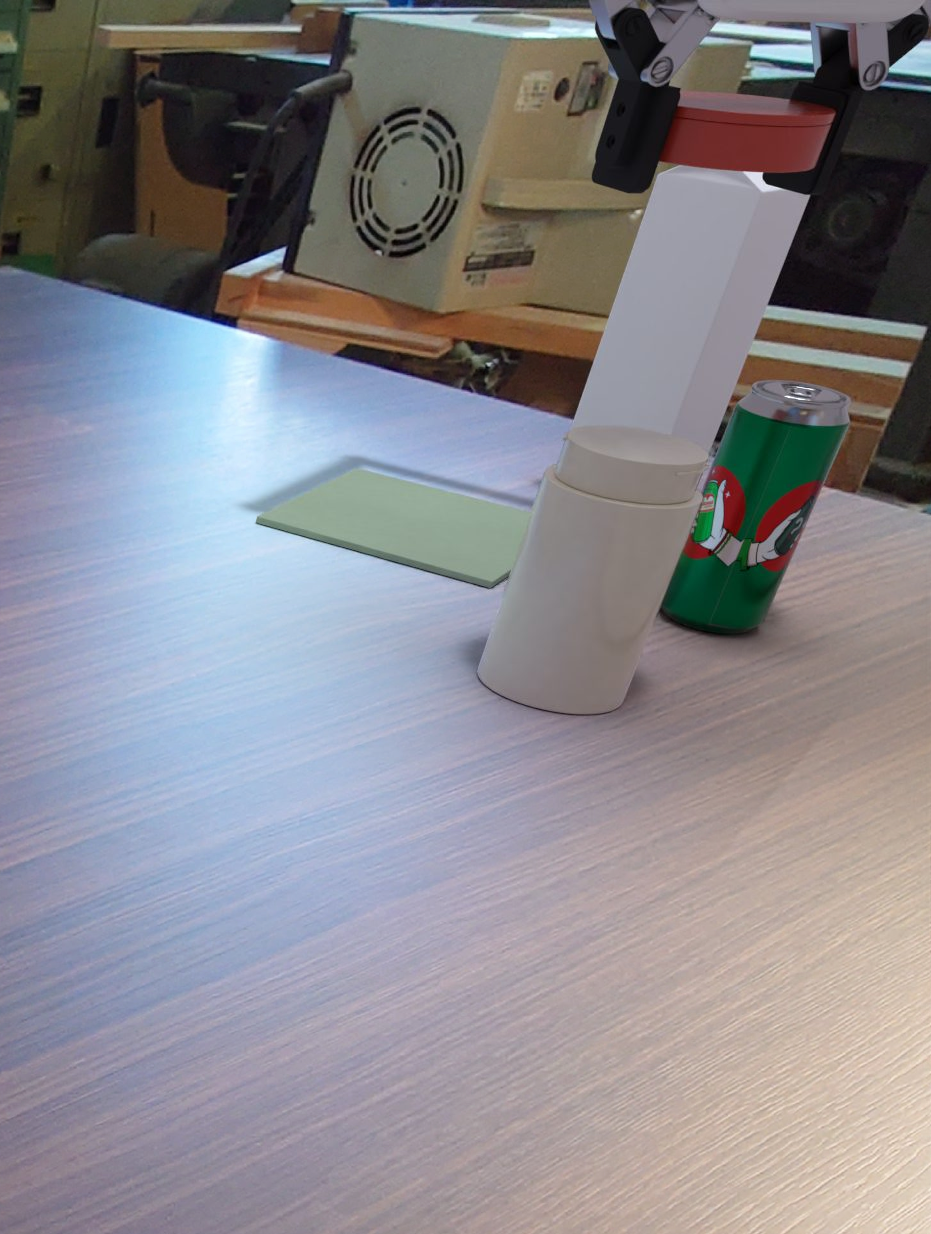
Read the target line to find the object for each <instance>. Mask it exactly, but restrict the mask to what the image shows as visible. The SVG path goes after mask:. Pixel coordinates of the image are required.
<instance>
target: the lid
mask: <svg viewBox="0 0 931 1234" xmlns="http://www.w3.org/2000/svg"><path fill="white" fill-rule="evenodd" d="M835 114H836V111H835V110H834V109H832V108H829V107H826V106H822V105H818V104H813V103H807V102H802V101H795V100H790V98H789V99H787V98H781V97H773V96H763V95H756V94H755V95H753V94H745V93H744V94H743V93H730V92H717V91H716V92H715V91H699V90H680V100H679V103H678V106H677V109H676V112H675V115H674V118H673V121H672V124H671V127H670V130H669V133H668V136H667V139H666V142H665V145H664V148H663V151H662V154H661V157H660V159H659V162H658V163H664V164H669V165H670V164H671V165H676V166H679V165H683V166H690V167H698V168H707V169H717V170H729V171H743V172H767V173H786V172H801V171H807V170H811V169H813V168H815V166H816V164H817V161H818V159H819V156H820V153H821V151H822V148H823V146H824V143H825V140H826V138H827V135H828V133H829V130H830V127H831V124H832V122H833V120H834V117H835Z"/></svg>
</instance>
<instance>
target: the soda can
mask: <svg viewBox="0 0 931 1234" xmlns="http://www.w3.org/2000/svg"><path fill="white" fill-rule="evenodd" d="M851 401H852V399H851V397H850V396H849V395H847V394H845V393H843V392H842V391H839V390H836V389H833V388H830V387H826V386H822V385H818V384H814V383H809V382H802V381H794V380H783V379H766V380H757V381H755V382H753V384H752V385H751V387H750V391H749V392H748V393H747V394H746V395H744V396H743V397H742V398H741V399H740V400H739V401H737V402H736V403H735V405H734V408H733V410H732V412H731V415H730V418H729V420H728V423H727V425H726V428H725V430H724V433H723V435H722V438H721V440H720V442H719V445H718V448H717V450H716V453H715V456H714V458H713V461H712V463H711V466H710V468H709V471H708V473H707V476H706V477H705V478H706V479H705V481H704V484H703V485H702V488H701V491H700V492H701V493H702V495H703V501H702V504H701V506H700V509H699V511H698V514H697V516H696V519H695V521H694V524H693V526H692V529H691V531H690V534H689V536H688V539H687V541H686V544H685V547H684V549H683V552H682V554H681V557H680V559H679V562H678V564H677V567H676V569H675V572H674V574H673V577H672V579H671V582H670V584H669V587H668V589H667V592H666V595H665V597H664V600H663V602H662V605H661V608H662V610H663V612H664V614H665V615H666V617H668V618H670V619H671V620H673V621H675V622H676V623H678V624H680V625H683V626H685V627H689V628H692V629H695V630H699V631H702V632H707V633H714V634H722V635H736V634H744V633H746V632H747V633H748V632H749V631H751V630H753V629H755V628H757V627H758V626H760V625H762V624H763V623H764V622H765V620H766V618H767V615H768V614H769V611H770V608H771V606H772V604H773V602H774V600H775V597H776V595H777V592H778V590H779V588H780V586H781V584H782V582H783V579H784V577H785V574H786V572H787V570H788V567H789V566H790V563H791V560H792V558H793V556H794V554H795V551H796V549H797V547H798V545H799V542H800V540H801V538H802V536H803V533H804V531H805V528H806V526H807V524H808V522H809V519H810V517H811V515H812V513H813V510H814V508H815V505H816V503H817V501H818V499H819V496H820V495H821V492H822V489H823V487H824V486H825V483H826V480H827V478H828V476H829V474H830V471H831V469H832V467H833V464H834V462H835V460H836V458H837V455H838V453H839V451H840V448H841V446H842V444H843V441H844V439H845V437H846V435H847V432H848V430H849V428H850V426H851V420H850V415H849V411H848V407H849V406H850V404H851Z"/></svg>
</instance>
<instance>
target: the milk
mask: <svg viewBox="0 0 931 1234" xmlns="http://www.w3.org/2000/svg"><path fill="white" fill-rule="evenodd" d="M762 175H763V172H743V171H729V170H717V169H707V168H698V167H690V166H683V165H676V166H675V167H671V168H670V169H667V170H665V171H662V172H660V173H658V174H657V176H656V179H655V182H654V183H653V184H654V185H653V188H652V190H651V193H650V196H649V198H648V202H647V204H646V208H645V211H644V213H643V217H642V220H641V223H640V225H639V228H638V231H637V233H636V237H635V240H634V243H633V246H632V247H631V248H632V249H631V251H630V254H629V258H628V259H627V264H626V266H625V269H624V272H623V275H622V278H621V279H620V280H621V281H620V283H619V286H618V290H617V292H616V296H615V297H614V301H613V304H612V307H611V310H610V312H609V315H608V318H607V322H606V324H605V327H604V330H603V333H602V335H601V339H600V342H599V345H598V348H597V351H596V354H595V357H594V358H593V361H592V365H591V368H590V371H589V374H588V376H587V379H586V383H585V385H584V388H583V391H582V395H581V397H580V400H579V402H578V407H577V409H576V412H575V415H574V418H573V421H572V423H571V426H570V429H569V431H570V430H572V429H574V428H577V427H582V426H591V425H611V426H624V427H633V428H640V429H646V430H651V431H656V432H661V433H665V434H669V435H673V436H676V437H679V438H682V439H685V440H688V441H690V442H693V443H695V444H697V445H699V446H700V447H702V448H704V449H705V450H706V451H707V452H708V454H709V455H710V452H711V449H712V447H713V444H714V442H715V439H716V437H717V434H718V431H719V430H720V426H721V424H722V421H723V419H724V416H725V414H726V412H727V409H728V406H729V404H730V401H731V399H732V396H733V394H734V392H735V388H736V385H737V383H738V382H739V381H738V380H739V378H740V376H741V373H742V371H743V368H744V366H745V363H746V360H747V357H748V355H749V353H750V350H751V348H752V345H753V343H754V340H755V338H756V335H757V332H758V330H759V327H760V325H761V322H762V319H763V317H764V314H765V312H766V310H767V307H768V304H769V302H770V299H771V297H772V294H773V292H774V289H775V286H776V283H777V281H778V279H779V276H780V274H781V271H782V268H783V266H784V263H785V262H786V258H787V256H788V253H789V252H790V251H789V250H790V248H791V246H792V244H793V240H794V238H795V235H796V233H797V231H798V228H799V225H800V222H801V220H802V218H803V215H804V212H805V209H806V207H807V205H808V203H809V200H810V197H811V195H804V194H800V193H797V192H793V191H789V190H785V189H782V188H778V187H774V186H771V185H767V184H766V183H765V181H763V179H762Z"/></svg>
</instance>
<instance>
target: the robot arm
mask: <svg viewBox="0 0 931 1234" xmlns="http://www.w3.org/2000/svg"><path fill="white" fill-rule="evenodd" d="M645 1H646V2H647V3H648V4H650V6H649V7H648V9H647V10H646V11H645V10H644V9H642V8H641V6H640V3H639V0H587V2H588V4H589V7H590V10H591V14H592V16H594V17H595V23H594V31H595V34H596V36H597V38H598V40H599V42H600V45H601V46H602V48H603V50H604V52H605V55H606V56H607V58H608V64H607V71H608V74H609V76H610V77H612V78H614V79H617V83H616V85H615V88H614V92H613V94H612V99H611V101H610V104H609V107H608V111H607V114H606V117H605V119H604V123H603V126H602V129H601V133H600V136H599V139H598V142H597V145H596V148H595V149H596V150H595V153H594V160H595V162H594V165H593V168H592V172H591V181H592V183H594V184H596V185H599V186H603V187H605V188H609V189H613V190H616V191H618V192H623V193H625V194H637V195H638V194H639V195H640V194H644V193H645V192H646V191H647V190H649V189H650V188H651V186H652V183H653V181H654V177H655V174H656V171H657V168H658V166H659V163H660V162H659V159H660V157H661V154H662V151H663V148H664V145H665V142H666V139H667V136H668V133H669V130H670V127H671V124H672V121H673V118H674V115H675V112H676V109H677V106H678V103H679V100H680V91H682V89H681V88H682V87H678V86H672V85H670V84H671V80H672V79H673V78H674V76H676V74H677V73H678V72H679V70H681V67H682V66H683V65H684V64H685V63H686V61H687V60H688V59H689V58H690V56H692V54H693V53H694V51H696V49H697V48H698V46H699V45H700V44H701V43H702V41H704V39H705V38H706V37H707V35H708V34H709V33H710V32H711V31H712V29H713V28H714V27H715V25H716V24H717V23H718V22H719V21H720V19H725V20H731V21H732V20H733V21H744V22H745V21H747V22H774V23H775V22H777V23H778V22H779V23H782V22H783V23H809V29H810V39H811V51H812V64H813V74H814V77H813V79H812V80H799V81H798V83H797V85H796V86H795V88H794V89H793V91H792V93H791V96H790V98H789V100H795V101H802V102H807V103H813V104H818V105H822V106H826V107H829V108H832V109H834V110H835V111H836V114H835V117H834V120H833V122H832V124H831V127H830V130H829V133H828V135H827V138H826V140H825V143H824V146H823V148H822V151H821V153H820V156H819V159H818V161H817V164H816V166H815V168H813V169H811V170H807V171H801V172H786V173H767V172H763V175H762V179H763V181H765V183H766V184H767V185H771V186H774V187H778V188H782V189H785V190H789V191H793V192H797V193H800V194H804V195H810V196H819V195H822V194H823V193H824V192H825V190H826V189H827V186H828V185H829V182H830V179H831V176H832V174H833V171H834V168H835V166H836V163H837V161H838V159H839V157H840V154H841V152H842V149H843V146H844V144H845V142H846V139H847V136H848V134H849V131H850V129H851V126H852V124H853V121H854V118H855V116H856V113H857V111H858V108H859V106H860V104H861V101H862V98H863V95H864V93H865V92H866V91H872V90H875V89H877V88H878V87H880V86H881V85H882V84H883V83H884V82H885V80H886V79H887V77H888V76H889V75H888V74H889V72H890V68H891V67H892V66H894V65H896V63H898V62H899V61H900V60H901V59H903V57H905V56H906V55H907V54H908V53H910V51H912V50H913V49H914V48H915V47H917V46H918V45H919V44H920V43H921V42H922V41H923V40H924V39H925V37H926V36H927V33H928V32H929V28H930V27H931V0H645Z"/></svg>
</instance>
